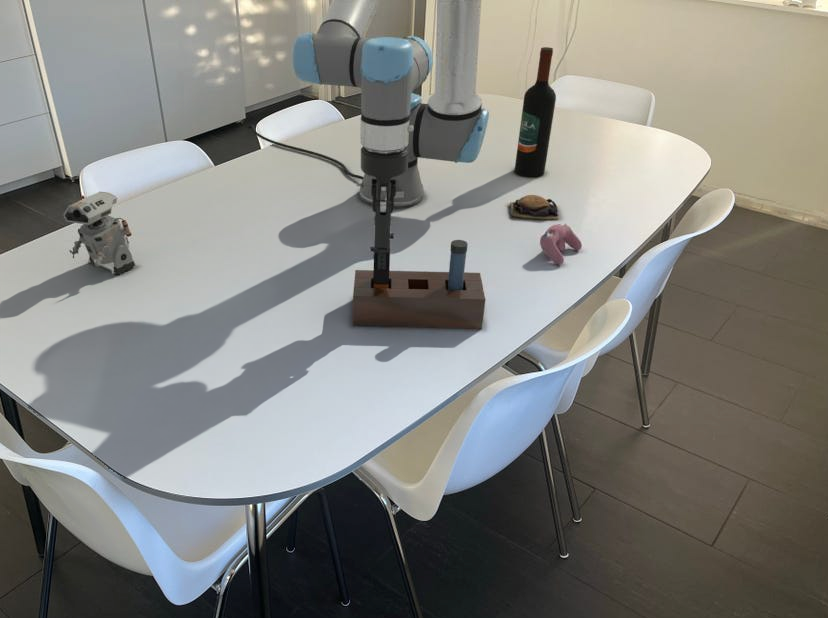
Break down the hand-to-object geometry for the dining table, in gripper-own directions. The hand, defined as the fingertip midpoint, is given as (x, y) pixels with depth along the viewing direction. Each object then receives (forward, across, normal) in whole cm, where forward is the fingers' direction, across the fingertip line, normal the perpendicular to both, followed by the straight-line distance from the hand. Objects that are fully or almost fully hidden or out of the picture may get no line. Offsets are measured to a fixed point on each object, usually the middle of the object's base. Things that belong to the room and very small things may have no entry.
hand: (381, 278), depth 128 cm
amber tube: (+3, 0, 0) cm, 3 cm away
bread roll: (+7, +46, -34) cm, 58 cm away
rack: (+7, 0, -6) cm, 9 cm away
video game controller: (+7, +25, -36) cm, 44 cm away
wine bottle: (+7, +71, -37) cm, 80 cm away
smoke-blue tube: (+7, 0, -13) cm, 15 cm away
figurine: (+7, +14, +55) cm, 57 cm away
